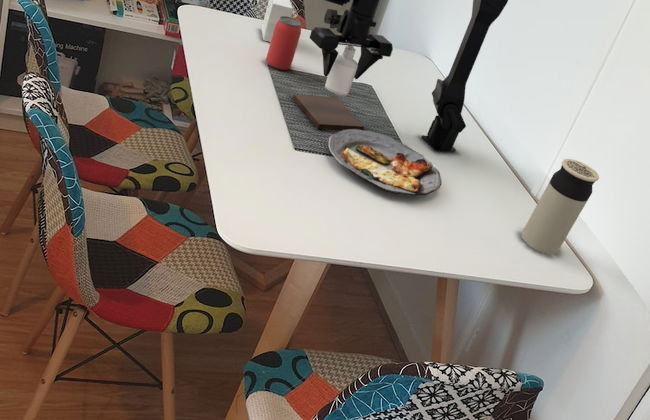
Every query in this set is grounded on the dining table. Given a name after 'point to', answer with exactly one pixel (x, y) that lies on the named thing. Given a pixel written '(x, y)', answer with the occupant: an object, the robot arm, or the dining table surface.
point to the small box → (274, 16)
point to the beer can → (284, 43)
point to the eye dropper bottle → (342, 72)
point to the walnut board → (327, 112)
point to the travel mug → (559, 206)
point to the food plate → (385, 162)
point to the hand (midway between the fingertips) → (340, 77)
